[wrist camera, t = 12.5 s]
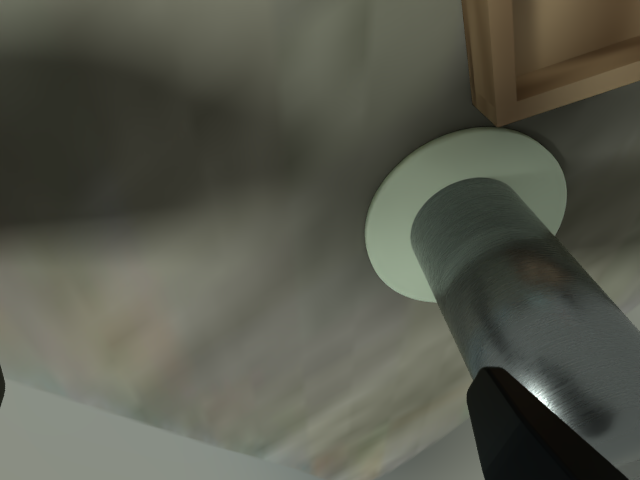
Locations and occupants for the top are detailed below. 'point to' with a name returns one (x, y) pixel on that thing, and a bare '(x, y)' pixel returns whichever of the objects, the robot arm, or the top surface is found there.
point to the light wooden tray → (548, 53)
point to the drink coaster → (447, 168)
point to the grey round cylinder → (532, 312)
